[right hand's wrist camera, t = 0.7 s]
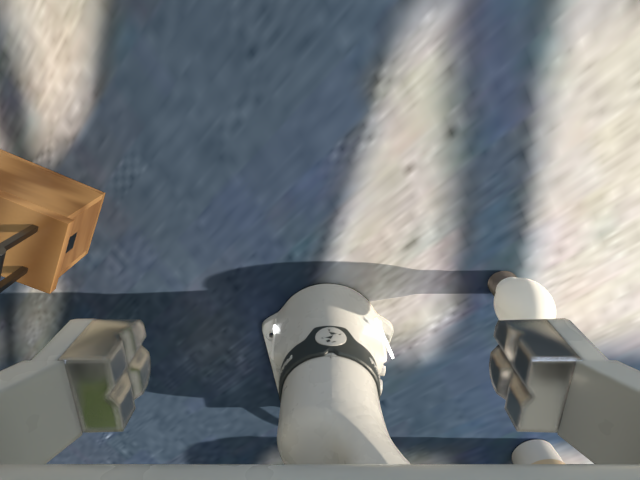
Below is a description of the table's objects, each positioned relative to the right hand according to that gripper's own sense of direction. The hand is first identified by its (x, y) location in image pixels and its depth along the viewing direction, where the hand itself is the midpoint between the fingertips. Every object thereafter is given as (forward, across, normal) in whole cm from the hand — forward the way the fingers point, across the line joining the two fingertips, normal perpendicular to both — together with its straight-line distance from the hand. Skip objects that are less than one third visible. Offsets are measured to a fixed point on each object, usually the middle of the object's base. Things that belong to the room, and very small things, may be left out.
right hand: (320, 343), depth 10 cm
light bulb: (+47, +25, -22) cm, 58 cm away
